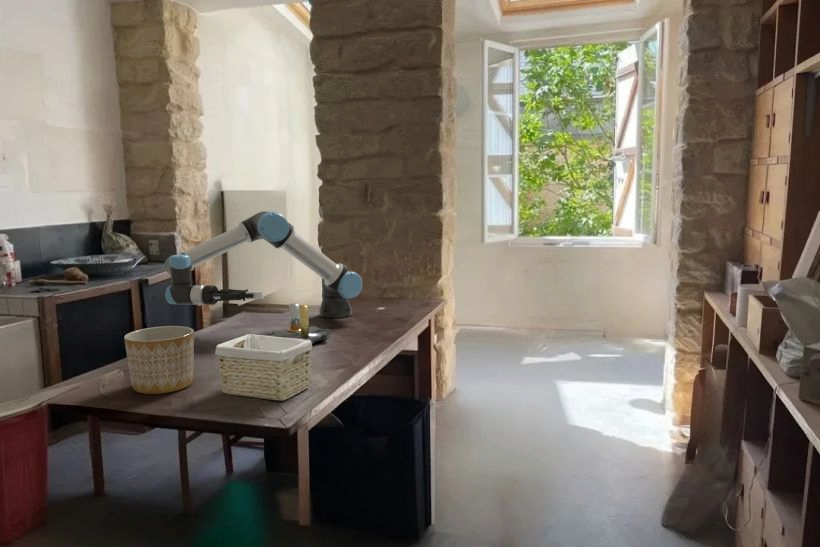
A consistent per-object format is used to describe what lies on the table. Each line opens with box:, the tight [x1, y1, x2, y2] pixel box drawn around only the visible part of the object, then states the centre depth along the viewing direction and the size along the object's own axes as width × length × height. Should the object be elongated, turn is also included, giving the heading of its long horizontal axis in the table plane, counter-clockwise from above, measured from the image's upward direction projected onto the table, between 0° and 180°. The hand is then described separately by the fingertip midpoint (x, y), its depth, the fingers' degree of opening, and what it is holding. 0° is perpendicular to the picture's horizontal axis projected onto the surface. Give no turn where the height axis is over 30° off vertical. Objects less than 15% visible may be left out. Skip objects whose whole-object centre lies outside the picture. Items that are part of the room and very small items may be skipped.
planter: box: [123, 325, 195, 395], centre depth 187 cm, size 19×19×16 cm
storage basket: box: [214, 333, 313, 402], centre depth 182 cm, size 24×16×15 cm
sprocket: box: [271, 304, 331, 344], centre depth 240 cm, size 23×23×14 cm
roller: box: [288, 302, 301, 330], centre depth 246 cm, size 4×4×10 cm
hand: (262, 295), depth 237 cm, fingers closed
